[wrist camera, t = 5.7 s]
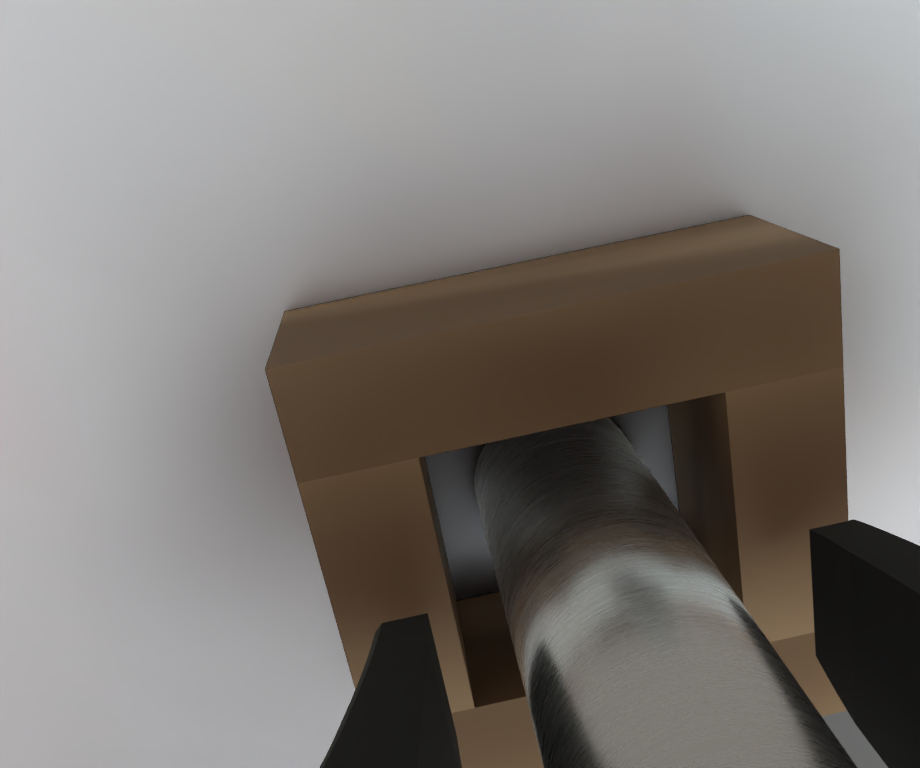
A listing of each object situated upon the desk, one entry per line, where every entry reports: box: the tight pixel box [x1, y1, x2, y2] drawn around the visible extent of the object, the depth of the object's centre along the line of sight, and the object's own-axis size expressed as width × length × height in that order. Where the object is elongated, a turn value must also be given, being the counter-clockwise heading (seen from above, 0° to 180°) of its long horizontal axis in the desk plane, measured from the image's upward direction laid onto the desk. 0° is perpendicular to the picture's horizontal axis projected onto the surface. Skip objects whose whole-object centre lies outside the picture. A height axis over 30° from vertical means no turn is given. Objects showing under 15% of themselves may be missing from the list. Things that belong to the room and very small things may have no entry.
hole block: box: [265, 215, 848, 768], centre depth 15 cm, size 8×8×3 cm
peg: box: [474, 417, 857, 768], centre depth 12 cm, size 3×3×9 cm
